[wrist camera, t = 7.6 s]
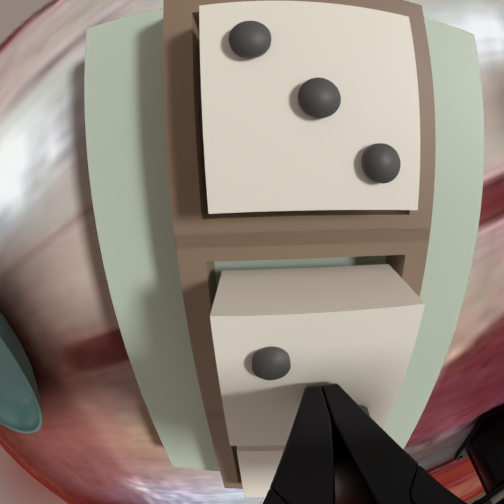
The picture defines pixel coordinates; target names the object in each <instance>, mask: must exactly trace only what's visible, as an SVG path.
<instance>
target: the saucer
mask: <svg viewBox="0 0 504 504" xmlns="http://www.w3.org/2000/svg"><path fill="white" fill-rule="evenodd" d="M0 424H2V425H4V426H6V427H8V428H10V429H12V430H15V431H17V432H21V433H27V434H28V433H35V432H37V431H38V430H39V429H40V428H41V426H42V407H41V400H40V395H39V390H38V386H37V383H36V380H35V376H34V373H33V370H32V367H31V364H30V361H29V359H28V357H27V355H26V353H25V350H24V348H23V346H22V345H21V343H20V341H19V339H18V337H17V336H16V334H15V332H14V331H13V329H12V327H11V326H10V324H9V323H8V321H7V320H6V319H5V317H4V316H3V314H2V313H1V312H0Z"/></svg>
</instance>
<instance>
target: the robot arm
mask: <svg viewBox="0 0 504 504" xmlns="http://www.w3.org/2000/svg"><path fill="white" fill-rule="evenodd" d="M467 456H469V458H470V460H471V462H472V464H473V466H474V468H475V471H476V473H477V475H478V477H479V479H480V481H481V484H482V486H483V488H484V490H485V492H486V495H485V496H484V497H482V498H481V499H479V500H477V501H475V502H473V503H472V504H493V503H494V502H495V501H497V500H498V499H500V498H501V497H502V496H504V406H503V407H501V408H499V409H496V410H494V411H492V412H489V413H487V414H485V415H484V416H482V417H481V419H480V420H479V422H478V423H477V425H476V426H475V428H474V429H473V431H472V432H471V434H470V435H469V437H468V438H467V440H466V441H465V443H464V444H463V445H462V447H461V448H460V450H459V451H458V452H457V454H456V455H455V459H456V460H460V459H462V458H465V457H467ZM263 504H467V503H465V502H464V501H463V500H461V499H460V498H458V497H457V496H455V495H454V494H453V493H451V492H450V491H449V490H447V489H446V488H445V487H443V486H442V485H441V484H440V483H439V482H438V481H436V480H435V479H434V478H433V477H432V476H431V475H430V474H429V473H428V472H426V471H425V470H424V469H423V468H422V467H421V466H418V463H417V462H416V461H415V460H414V459H413V458H412V457H411V456H410V455H409V454H408V453H407V452H406V451H404V450H403V449H402V448H401V447H400V446H399V445H398V444H397V443H396V442H395V441H394V440H393V439H392V438H391V437H390V436H389V435H388V434H387V433H386V432H385V431H384V430H383V429H382V428H381V427H380V426H379V425H378V424H377V423H376V422H375V421H374V420H373V419H372V418H371V417H370V416H369V415H368V414H367V413H366V412H365V411H364V410H363V409H362V408H361V407H360V406H359V405H358V404H357V403H356V402H355V401H354V400H353V399H352V398H351V397H350V396H349V395H348V394H347V393H346V392H345V391H344V390H343V389H342V388H341V387H340V386H339V385H338V384H337V383H332V384H323V385H322V386H321V385H308V386H306V387H305V389H304V392H303V395H302V398H301V401H300V404H299V407H298V411H297V414H296V417H295V420H294V423H293V426H292V429H291V432H290V434H289V437H288V440H287V443H286V446H285V449H284V451H283V454H282V457H281V459H280V462H279V465H278V467H277V470H276V473H275V475H274V478H273V480H272V483H271V485H270V489H269V490H268V492H267V495H266V497H265V500H264V502H263ZM496 504H504V498H503V499H501V500H500V501H499V502H497V503H496Z"/></svg>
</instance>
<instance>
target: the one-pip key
mask: <svg viewBox="0 0 504 504" xmlns="http://www.w3.org/2000/svg"><path fill="white" fill-rule="evenodd" d="M285 446H286V445H272V446H237V456H238V462H239V468H240V474H241V480H242V486H243V491H244V497H245V498H264V497H266V495H267V492H268V490H269V489H270V485H271V483H272V480H273V478H274V475H275V473H276V470H277V467H278V465H279V462H280V459H281V457H282V454H283V451H284V449H285Z"/></svg>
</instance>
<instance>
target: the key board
mask: <svg viewBox="0 0 504 504" xmlns="http://www.w3.org/2000/svg"><path fill="white" fill-rule="evenodd" d="M243 1H307V2H322V3H332V4H341V5H349V6H357V7H363V8H369V9H375V10H380V11H385V12H390V13H395V14H399V15H404V16H408V17H409V20H410V25H411V31H412V38H413V45H414V52H415V60H416V69H417V79H418V92H419V109H420V181H419V199H418V210H305V211H267V212H239V213H217V214H208V202H207V188H206V174H205V158H204V142H203V123H202V101H201V74H200V29H199V6H200V5H208V4H218V3H228V2H243ZM84 105H85V131H86V147H87V159H88V170H89V179H90V187H91V195H92V203H93V209H94V216H95V222H96V228H97V234H98V239H99V245H100V250H101V255H102V260H103V265H104V269H105V274H106V278H107V282H108V287H109V291H110V295H111V299H112V303H113V306H114V310H115V314H116V317H117V321H118V324H119V328H120V331H121V335H122V338H123V341H124V345H125V348H126V351H127V354H128V357H129V360H130V363H131V366H132V369H133V372H134V375H135V377H136V380H137V383H138V386H139V388H140V391H141V394H142V396H143V399H144V402H145V404H146V407H147V409H148V412H149V414H150V416H151V419H152V421H153V424H154V426H155V428H156V431H157V433H158V435H159V437H160V440H161V442H162V444H163V446H164V448H165V450H166V453H167V455H168V457H169V459H170V461H171V463H172V465H173V467H178V468H188V469H199V470H212V471H220V472H221V476H222V479H223V483H224V486H225V488H238V489H243V486H242V480H241V474H240V468H239V462H238V456H237V446H230V443H229V438H228V432H227V427H226V421H225V415H224V409H223V403H222V397H221V391H220V384H219V378H218V371H217V365H216V358H215V351H214V344H213V336H212V329H211V321H210V314H211V310H212V306H213V303H214V299H215V295H216V292H217V288H218V284H219V281H220V277H221V273H222V270H254V269H285V268H311V267H336V266H359V265H380V264H389V265H390V266H391V267H392V268H393V269H394V270H395V271H396V272H397V273H398V275H399V276H400V277H401V278H402V279H403V280H404V281H405V282H406V283H407V284H408V285H409V286H410V287H411V289H412V290H413V291H414V292H415V293H416V294H417V295H418V296H419V297H420V299H421V300H422V301H423V302H424V303H425V307H424V311H423V315H422V319H421V323H420V327H419V331H418V335H417V338H416V342H415V346H414V349H413V352H412V356H411V359H410V362H409V365H408V369H407V372H406V375H405V378H404V381H403V384H402V386H401V389H400V392H399V395H398V398H397V400H396V403H395V406H394V408H393V411H392V413H391V416H390V418H389V421H388V423H387V426H386V428H385V430H384V431H385V432H386V433H387V434H388V435H389V436H390V437H391V438H392V439H393V440H394V441H395V442H396V443H397V444H398V445H399V446H400V447H401V448H402V449H404V447H405V445H406V444H407V442H408V440H409V438H410V436H411V434H412V432H413V430H414V428H415V427H416V425H417V423H418V421H419V419H420V416H421V414H422V412H423V410H424V408H425V406H426V404H427V402H428V399H429V397H430V395H431V393H432V390H433V388H434V386H435V383H436V381H437V378H438V376H439V373H440V371H441V368H442V366H443V363H444V360H445V358H446V355H447V352H448V349H449V346H450V343H451V340H452V337H453V334H454V331H455V328H456V325H457V321H458V318H459V315H460V311H461V308H462V304H463V300H464V296H465V292H466V288H467V284H468V280H469V275H470V271H471V266H472V261H473V256H474V250H475V245H476V239H477V232H478V225H479V218H480V209H481V199H482V188H483V172H484V112H483V97H482V86H481V77H480V69H479V61H478V55H477V49H476V43H475V38H474V34H472V33H469V32H467V31H464V30H461V29H458V28H456V27H453V26H450V25H447V24H444V23H441V22H438V21H435V20H431V19H428V18H424V17H423V12H422V7H421V5H419V4H415V3H411V2H408V1H404V0H164V8H161V9H156V10H151V11H147V12H143V13H139V14H135V15H131V16H127V17H123V18H120V19H116V20H113V21H110V22H107V23H103V24H100V25H97V26H94V27H91V28H88V29H87V34H86V48H85V73H84Z"/></svg>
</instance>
